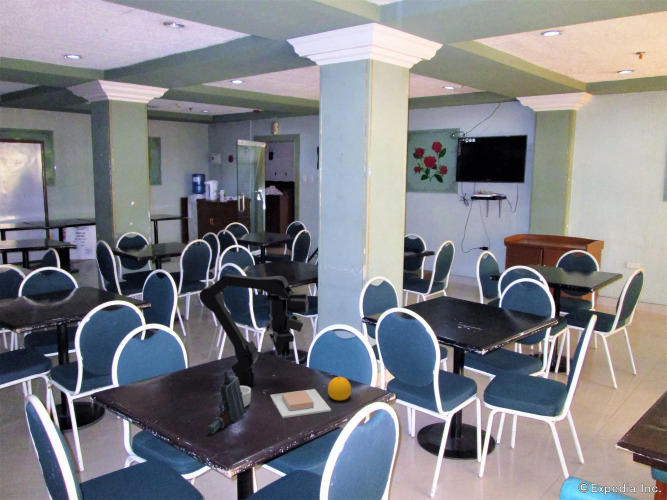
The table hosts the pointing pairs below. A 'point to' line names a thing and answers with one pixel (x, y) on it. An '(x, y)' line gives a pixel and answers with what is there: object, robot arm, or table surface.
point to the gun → (229, 403)
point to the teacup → (246, 394)
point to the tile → (297, 400)
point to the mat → (318, 408)
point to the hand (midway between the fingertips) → (279, 355)
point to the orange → (339, 388)
